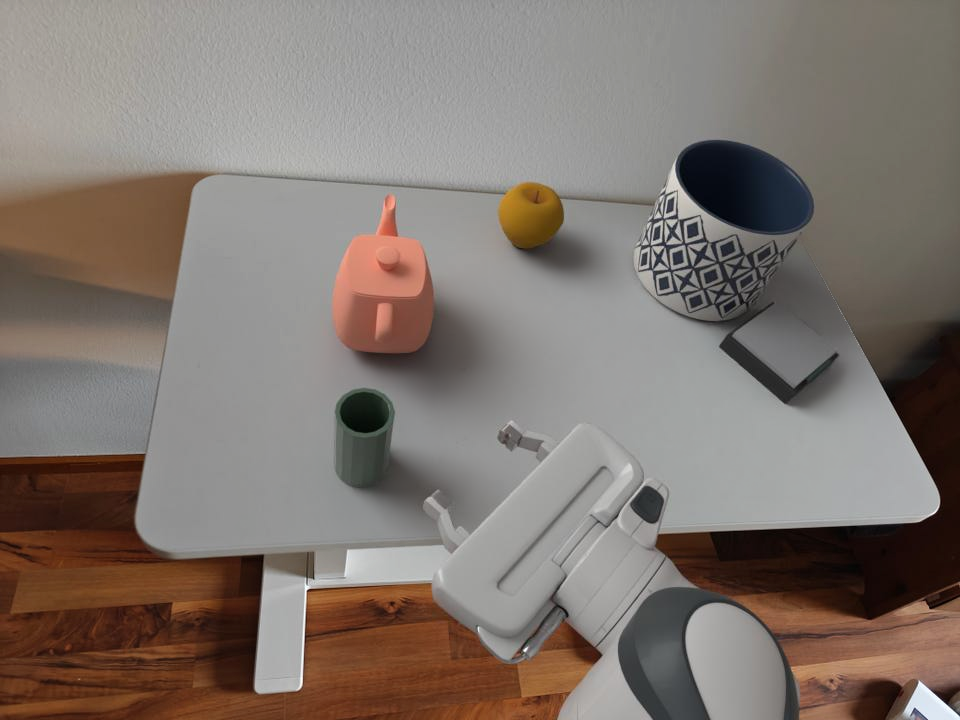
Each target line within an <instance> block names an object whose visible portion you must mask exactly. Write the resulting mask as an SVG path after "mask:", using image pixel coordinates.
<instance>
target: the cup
mask: <svg viewBox="0 0 960 720" xmlns="http://www.w3.org/2000/svg"><path fill="white" fill-rule="evenodd" d="M395 414H396V410H395V407H394V404H393V402H392V400H391V399H390V398H389V396H387V395H386V394H385V393H383V392H381V391H379V390H377V389H376V388H369V387H360V388H354V389H351V390H350V391H347V392H346V393H344V394H343V395H341V397H340V398H339V399H338V401H337V402H336V404H335V409H334V416H333V417H334V418H333V419H334V420H333V424H334V425H333V466H334V467H333V468H334V471H335V473H336V475H337V477H338V478H339V479H340V480H341V481H342V482H343V483H345V484H347V485H348V486H351V487H353V488H367V487H371V486H373V485H376V484H377V483H379V482H380V481H381V480H382V479H383V478H384V477H385V475H386V473H387V471H388V466H389V461H390V454H391V445H392V438H393V431H394V430H393V429H394V423H395Z"/></svg>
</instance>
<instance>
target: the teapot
mask: <svg viewBox="0 0 960 720" xmlns="http://www.w3.org/2000/svg"><path fill="white" fill-rule="evenodd" d="M396 203H397V202H396V198H395V196H394V195H393V194H391V193H390V194H387V195H386V196H385V198H384V200H383V207H382V214H381V219H380V222H379V225H378V228H377V231H376V233H375V234H359V235H357V236H354V238H353V239H352V240H351V242H350V244H349V246H348V248H347V250H346V252H345V254H344V256H343V258H342V260H341V262H340V265H339V269H338V272H337V274H336V277H335V282H334V285H333V293H332V301H331V303H332V304H331V305H332V306H331V307H332V308H331V311H332V319H333V324H334V329H335V331H336V335H337V336H338V339H339V340H340V342H341V343H342V345H344V346H345V347H346V348H347V349H350V350H353V351H359V352H366V353H367V352H368V353H379V354H410V353H414V352H416V351H418V350H419V349H420V348H421V347H423V346H424V345H425V343H426V341H427V339H428V337H429V335H430V332H431V328H432V326H433V325H432V324H433V320H434V319H433V318H434V313H435V312H434V309H435V293H434V284H433V279H432V275H431V271H430V270H431V269H430V267H429V263H428V259H427V256H426V252H425V250H424V248H423V247H424V246H423V245H422V243H421V242H420V241H419V240H418V239H415V238H409V237H403V236H399V233H398V227H397V221H396V220H397V219H396Z"/></svg>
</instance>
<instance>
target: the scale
mask: <svg viewBox="0 0 960 720" xmlns="http://www.w3.org/2000/svg"><path fill="white" fill-rule="evenodd" d="M718 348H720V349H721V350H722V351H723V352H724V353H725V354H727V355H728V356H729V357H730V358H731V359H732V360H733V361H735V362H736V363H737V365H739V366H740V367H741V368H742V369H744V370H745V371H746V372H748V373H749V375H751V376H752V378H755V380H757V381H758V382H759V383H760V384H761V385H763V387H765V389H767V390H768V391H769V392H770V393H772V394H773V395H774V396H775V397H777V398H778V400H780V401H781V402H782V403H783V404H785V405H786V404H787V403H788V402H790V401H791V400H792V399H794V398H795V396H797V395H798V394H799V393H801V391H803V390H804V389H805V388H806V387H807V386H808V385H810V384H811V383H812V382H813V381H814V380H815V379H816V378H818V377H819V376H820V375H821V374H822V373H824V371H826V370H827V369H828V368H829V367H831V365H832V364H833V363H834V362H835V361H836V360H837V359H838V358H839V357H840V354H839V353H837V352H838V349H837V348H836V347H835V346H834V345H832V344H830V343H829V342H828V341H827V340H826V339H824V338H823V337H822V336H821V335H820V334H818V333H817V332H815V330H813V329H812V328H811V327H809V326H808V325H807V324H806V323H804V321H802V320H800V318H798V317H797V316H796V315H794V314H793V313H792V312H791V311H790V310H788V309H787V308H785V307H784V306H783V305H782V304H781V303H779V302H778V301H776V302H774V301H772V302H771V303H769V304H768V305H767V306H765V307H764V308H762V309H761V310H759V311H758V312H757V313H755V314H754V315H753V316H751V317H750V318H748V319H747V320H746V321H745V322H743V323H741V324H740V325H739V326H737V327H736V328H734V329H733V330H732V331H730V332H729V333H728V334H726V335H725V337H724V338H723V340H722V341H721V342H720V344H719V346H718Z"/></svg>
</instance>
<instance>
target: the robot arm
mask: <svg viewBox="0 0 960 720" xmlns="http://www.w3.org/2000/svg"><path fill="white" fill-rule="evenodd" d="M497 440H498V442H499V443H500V444H501V445H504V446H505V448H506V449H507V450H509V451H510V452H513V451H514V450H516V449H517V448H520V449H523V450H527V451H530V452H534V453H536V454H535V459H536V460H537V461H539V464H538V465H537V466H536V467H535V468H534V469H533V470H532V471H531V472H530V473H529V474H528V475H527V476H526V477H525V478H524V479H523V480H522V481H521V483H520V484H518V485H517V487H516V488H515V489H514V490H513V491H512V492H511V493H510V494H508V495H507V497H506V498H505V499H504V500H503V501H502V502H500V504H499V505H498V506H497V507H496V508H495V509H494V510H493V511H492V512H491V513H490V514H489V515H488V516H487V517H486V518H485V519H484V520H483V521H482V522H481V524H479V525H478V526H477V527H476V528H475V529H474V530H473V531H472V533H470V532H469V531H467V530H466V529H465V528H464V527H463V526H462V525H460V526H458V527H457V528H456V529H455V527H454V524H453V522H452V518H451V516H450V514H449V513H451V511H452V507H453V504H454V501H453V500H452V499H451V498H450V497H448V496H446V495H444V492H443V491H442V490H441V489H435V490H434V491H433V492H432V493H431V494H430V495H428V497H426V498H425V499H424V500H423V504H422V508H423V511H424V512H425V513H426V514H427V515H428V516H429V517H430V518H432V519H433V520H434V522H436V523H437V528H438V531H439V534H440V537H441V540H442V543H443V547H444V549H445V550H446V551H447V552H448V553H449V554H450V555H449V556H448V557H447V558H446V559H445V560H444V561H443V562H442V563H441V564H440V565H439V567H437V568H436V570H435V572H434V574H433V577H432V579H431V584H430V587H431V595H432V598H433V601H434V602H435V603H436V604H437V605H438V606H439V607H440V608H441V609H442V610H443V611H445V612H446V614H449V615H450V616H451V617H452V618H453V619H455V620H456V621H457V622H458V623H460V624H461V625H463V626H464V627H465V628H467V629H468V630H470V631H472V632H473V633H474V634H476V635H477V638H478V640H479V642H480V643H481V645H482V646H483V647H484V648H485V649H486V650H487V651H488V652H489V653H490V654H491V656H493V657H494V658H495V659H496V660H498V661H499V662H501V663H503V664H507V665H517V664H519V663H522V662H524V661H525V660H526V661H531V660H532V659H534V658H535V657H536V656H537V655H538V653H539V652H540V651H541V649H542V646H543V645H544V643H545V642H546V641H547V640H548V639H549V638H550V637H551V636H552V635H553V634H554V633H555V632H556V631H557V630H558V628H559V627H560V626H561V625H562V623H563V622H564V621H565V622H566V623H567V624H568V625H569V626H570V627H571V628H572V629H573V630H574V631H575V632H576V633H578V634H579V635H580V636H581V637H582V638H584V640H585V641H587V642H588V643H589V644H590V645H591V646H592V647H594V648H595V649H596V650H597V651H598V652H599V653H600V654H601V657H600V658H599V659H598V660H597V661H596V662H595V663H594V664H593V666H592V667H590V669H589V670H588V672H587V673H586V674H585V676H584V677H583V678H582V679H581V680H580V681H579V683H578V684H577V685H576V686H575V688H574V689H573V690H572V691H571V692H570V693H568V694H569V695H568V696H567V697H566V699H565V700H564V702H563V704H562V706H561V708H560V710H559V713H558V715H557V717H556V719H555V720H800V710H801V698H802V697H801V687H800V683H799V681H798V679H797V677H796V675H795V674H794V673H793V671H792V667H791V665H790V662H789V659H788V658H787V655H786V653H785V651H784V649H783V647H782V646H781V644H780V642H779V640H778V639H777V637H776V636H775V634H774V633H773V632H772V630H771V629H770V628H769V626H768V625H767V624H766V623H765V622H764V621H763V619H761V618H760V617H759V616H758V615H756V613H754V612H753V611H751V610H750V609H749V608H747V606H744V605H743V604H742V603H740V602H738V601H736V600H734V599H732V598H731V597H728V596H726V595H724V594H722V593H718V592H716V591H711V590H707V589H704V588H700V587H698V586H696V585H695V584H693V583H692V582H690V581H689V580H688V579H687V578H685V576H684V575H683V574H682V573H681V571H679V569H678V568H677V567H676V565H675V564H674V562H673V560H671V559H670V558H669V557H668V556H667V555H666V554H664V553H663V552H662V551H661V550H659V548H657V547H656V544H657V541H658V536H659V532H660V528H661V525H662V522H663V518H664V515H665V511H666V507H667V504H668V500H669V497H670V490H669V488H668V487H667V485H665V484H664V483H663V482H662V481H660V480H659V479H657V478H656V477H648V478H647V479H646V480H645V472H644V469H643V467H642V465H641V463H640V462H639V460H638V459H637V458H636V457H635V456H634V455H633V454H632V453H630V451H629V450H627V448H626V447H625V446H623V445H622V444H620V442H618V441H617V440H616V439H615V438H614V437H612V436H611V435H610V434H609V433H608V432H607V431H605V430H603V429H602V428H601V427H600V426H598V425H595V424H592V423H584V422H580V423H578V424H577V425H576V426H575V427H574V428H573V429H572V430H571V431H570V432H569V433H568V434H567V435H566V436H565V437H564V439H562V440H561V442H558V441H557V440H556V439H555V438H554V437H552V436H551V435H549V434H544V433H539V432H535V431H529V430H527V431H526V430H525V429H524V428H522V426H521V425H519V424H517V423H516V422H515V421H514V420H509V421H508V422H507V423H505V425H504V426H503V427H502V428H501V429H500V430H499V431H498V435H497ZM518 652H519V653H520V655H517V656H516V654H517V653H518ZM515 656H516V657H515Z"/></svg>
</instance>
